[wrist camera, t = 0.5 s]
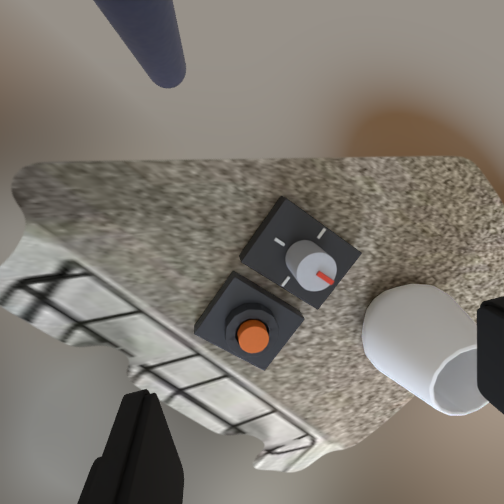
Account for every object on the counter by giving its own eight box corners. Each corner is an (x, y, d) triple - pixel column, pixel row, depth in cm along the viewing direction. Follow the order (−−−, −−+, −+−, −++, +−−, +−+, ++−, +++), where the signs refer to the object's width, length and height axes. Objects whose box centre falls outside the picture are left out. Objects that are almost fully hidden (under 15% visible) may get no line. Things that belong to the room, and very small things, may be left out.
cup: (442, 267, 45) (541, 314, 32) (433, 350, 49) (517, 422, 36) (350, 279, 44) (413, 334, 30) (348, 363, 48) (404, 444, 34)
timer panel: (238, 255, 40) (241, 262, 38) (281, 195, 39) (286, 198, 36) (311, 301, 44) (318, 310, 41) (353, 247, 42) (362, 253, 40)
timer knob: (278, 262, 39) (289, 279, 34) (300, 232, 38) (314, 245, 33) (306, 281, 40) (320, 299, 35) (328, 252, 39) (346, 267, 34)
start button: (231, 336, 40) (232, 345, 38) (248, 314, 39) (250, 321, 37) (255, 349, 41) (257, 358, 39) (272, 327, 40) (275, 335, 38)
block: (194, 325, 42) (193, 342, 39) (233, 270, 41) (236, 282, 37) (261, 360, 45) (267, 379, 42) (300, 311, 44) (309, 326, 40)
